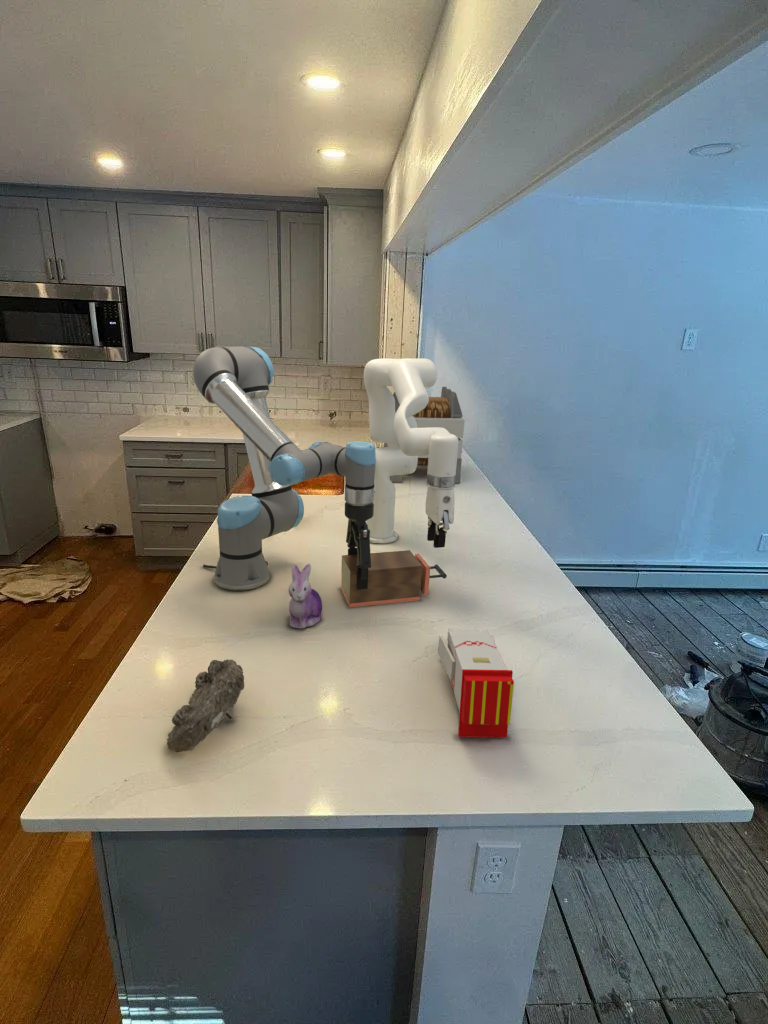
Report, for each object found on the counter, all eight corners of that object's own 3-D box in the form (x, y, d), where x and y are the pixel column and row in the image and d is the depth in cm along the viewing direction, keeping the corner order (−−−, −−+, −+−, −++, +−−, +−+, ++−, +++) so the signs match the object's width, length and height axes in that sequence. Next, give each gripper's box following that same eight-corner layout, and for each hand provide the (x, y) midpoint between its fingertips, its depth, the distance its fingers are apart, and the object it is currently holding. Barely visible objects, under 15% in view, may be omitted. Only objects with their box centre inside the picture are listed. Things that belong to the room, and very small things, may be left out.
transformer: (382, 463, 289) (386, 382, 275) (445, 464, 293) (451, 384, 279) (390, 482, 257) (394, 392, 243) (460, 483, 261) (468, 394, 247)
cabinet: (407, 582, 165) (409, 550, 161) (419, 600, 155) (422, 565, 152) (341, 588, 159) (341, 555, 156) (349, 607, 150) (350, 571, 146)
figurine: (294, 634, 136) (293, 577, 131) (280, 614, 145) (279, 560, 139) (330, 625, 140) (331, 571, 135) (315, 606, 149) (315, 554, 144)
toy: (488, 613, 130) (523, 677, 101) (484, 667, 133) (517, 744, 104) (435, 612, 130) (455, 676, 101) (432, 666, 133) (451, 743, 103)
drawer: (435, 578, 166) (437, 551, 163) (447, 593, 158) (449, 565, 155) (355, 585, 159) (355, 558, 157) (363, 601, 151) (364, 573, 148)
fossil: (192, 660, 117) (244, 628, 112) (224, 691, 120) (276, 661, 115) (142, 746, 98) (202, 712, 93) (182, 779, 101) (242, 748, 96)
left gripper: (385, 516, 137) (382, 597, 144) (362, 487, 157) (360, 560, 165) (355, 518, 135) (353, 600, 142) (336, 489, 155) (335, 562, 163)
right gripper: (466, 489, 144) (460, 555, 150) (442, 471, 159) (437, 531, 165) (439, 490, 142) (433, 557, 148) (417, 472, 157) (413, 533, 163)
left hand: (357, 579), depth 153 cm, fingers closed on cabinet, 11 cm apart
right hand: (435, 543), depth 157 cm, fingers open, 4 cm apart
